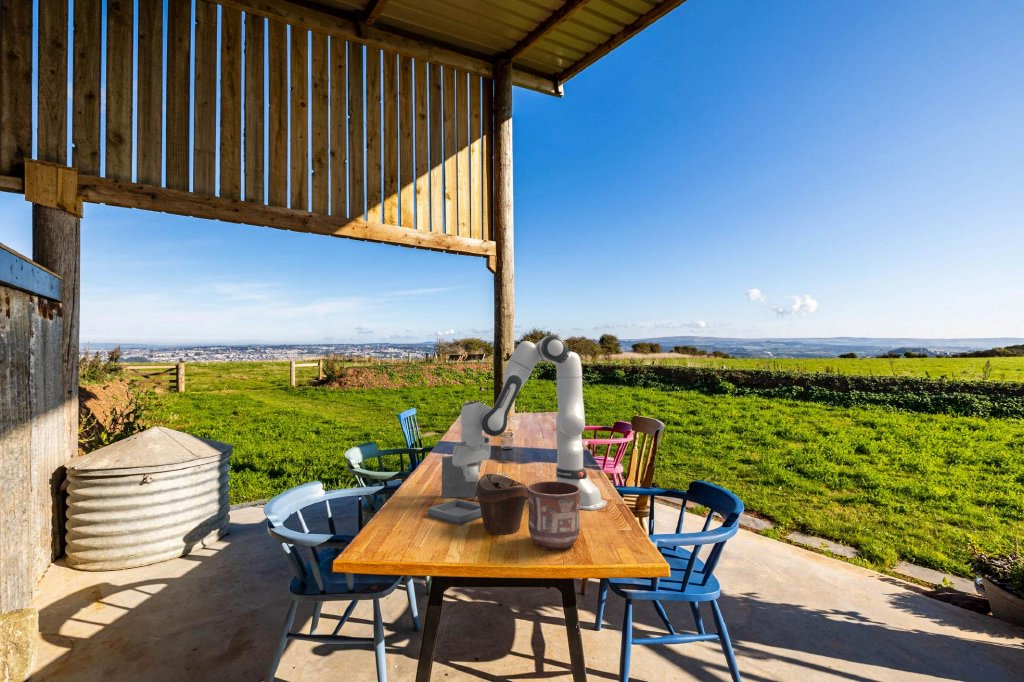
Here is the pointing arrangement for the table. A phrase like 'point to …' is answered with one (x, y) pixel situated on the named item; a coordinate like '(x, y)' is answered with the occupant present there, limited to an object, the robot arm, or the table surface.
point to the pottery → (554, 514)
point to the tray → (456, 512)
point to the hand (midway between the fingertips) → (471, 473)
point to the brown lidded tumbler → (501, 503)
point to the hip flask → (455, 481)
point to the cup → (472, 473)
